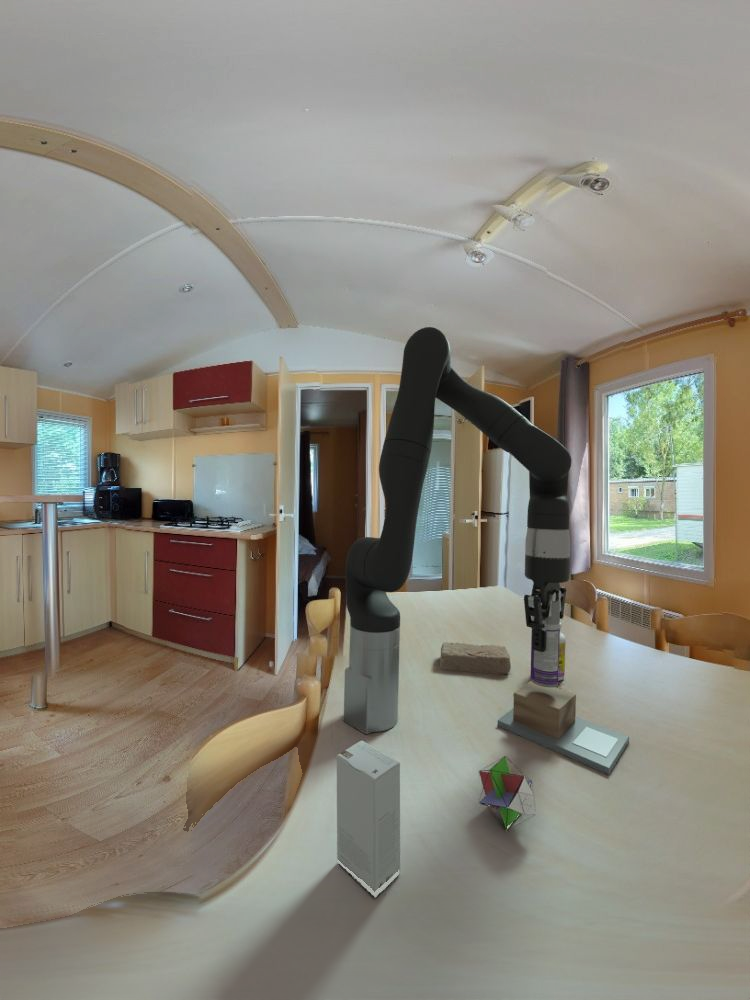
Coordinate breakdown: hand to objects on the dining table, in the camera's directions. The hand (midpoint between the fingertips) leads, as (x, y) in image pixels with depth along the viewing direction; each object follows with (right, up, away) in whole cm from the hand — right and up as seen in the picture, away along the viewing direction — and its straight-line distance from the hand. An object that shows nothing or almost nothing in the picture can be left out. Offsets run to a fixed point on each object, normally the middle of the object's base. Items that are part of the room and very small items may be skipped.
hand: (545, 646), depth 73 cm
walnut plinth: (0, -14, 0) cm, 14 cm away
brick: (-6, -15, +27) cm, 31 cm away
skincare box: (-32, -14, -29) cm, 46 cm away
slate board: (+2, -14, -2) cm, 15 cm away
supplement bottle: (+10, -15, +22) cm, 28 cm away
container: (0, -7, 0) cm, 7 cm away
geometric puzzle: (-14, -14, -22) cm, 30 cm away
